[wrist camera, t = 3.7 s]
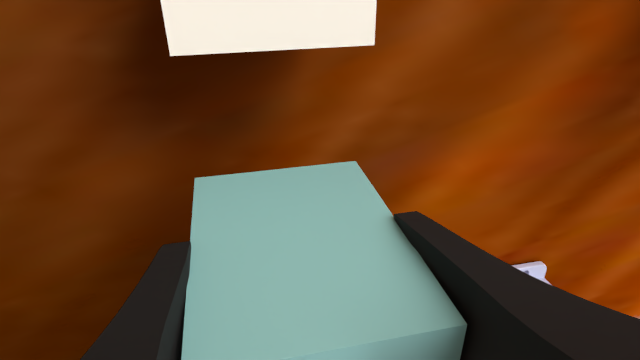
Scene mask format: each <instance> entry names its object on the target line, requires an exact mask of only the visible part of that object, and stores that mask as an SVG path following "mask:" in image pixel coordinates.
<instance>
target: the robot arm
mask: <svg viewBox="0 0 640 360" xmlns="http://www.w3.org/2000/svg"><path fill="white" fill-rule="evenodd" d="M394 220H395V222H396V223H397V224H398V226H399V227H400V229H401V230H402V232H403V233H404V235H405V236H406V238H407V239H408V241H409V242H410V243H411V245H412V246H413V247H414V248H415V249H416V251H417V252H418V253H419V254H420V256H421V257H422V259H423V260H424V262H425V263H426V265H427V266H428V268H429V269H430V271H431V272H432V273H433V275H434V276H435V278H436V279H437V281H438V282H439V284H440V285H441V287H442V288H443V290H444V291H445V293H446V294H447V295H448V297H449V298H450V300H451V301H452V303H453V304H454V306H455V307H456V309H457V310H458V312H459V313H460V314H461V316H462V317H463V319H464V320H465V322H466V323H467V328H466V333H465V338H464V342H463V347H462V352H461V357H460V360H640V319H638V318H635V317H632V316H629V315H626V314H623V313H620V312H618V311H615V310H612V309H609V308H607V307H604V306H601V305H598V304H596V303H593V302H590V301H588V300H585V299H583V298H580V297H578V296H575V295H573V294H570V293H568V292H566V291H564V290H561V289H559V288H557V287H555V286H552V285H551V284H550V283H549V282H548V281H547V280H546V279H545V278H544V276H545V273H546V270H547V267H546V265H545V264H544V263H543V262H541V261H537V262H531V263H525V264H519V265H513V266H511V265H509V264H507V263H505V262H503V261H501V260H500V259H498V258H496V257H494V256H492V255H491V254H489V253H487V252H485V251H484V250H482V249H480V248H478V247H477V246H475V245H473V244H472V243H470V242H468V241H466V240H465V239H463V238H461V237H460V236H458V235H456V234H455V233H453V232H451V231H450V230H448V229H447V228H445V227H443V226H442V225H440V224H438V223H437V222H435V221H433V220H432V219H430V218H428V217H426V216H425V215H423V214H421V213H419V212H417V211H414V212H407V213H399V214H394ZM190 258H191V242H190V241H188V242H180V243H173V244H165V245H163V246H162V247H161V248H160V249H159V251H158V252H157V254H156V256H155V257H154V259H153V261H152V262H151V264H150V266H149V267H148V269H147V270H146V272H145V274H144V275H143V277H142V278H141V280H140V281H139V283H138V284H137V286H136V287H135V289H134V290H133V292H132V293H131V294H130V296H129V297H128V299H127V300H126V302H125V303H124V304H123V306H122V307H121V309H120V310H119V312H118V313H117V314H116V316H115V317H114V318H113V319H112V321H111V322H110V323H109V325H108V326H107V327H106V328H105V330H104V331H103V332H102V334H101V335H100V336H99V337H98V339H97V340H96V341H95V342H94V344H93V345H92V346H91V347H90V349H89V350H88V351H87V352H86V353H85V354H84V356H83V357H82V358H81V359H80V360H181V356H182V343H183V329H184V316H185V303H186V289H187V283H188V279H189V273H190Z"/></svg>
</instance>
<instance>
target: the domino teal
mask: <svg viewBox="0 0 640 360" xmlns="http://www.w3.org/2000/svg"><path fill="white" fill-rule="evenodd" d="M190 242H191V258H190V273H189V279H188V283H187V289H186V303H185V316H184V329H183V343H182V356H181V360H460V357H461V352H462V347H463V342H464V338H465V333H466V328H467V323H466V322H465V320H464V319H463V317H462V316H461V314H460V313H459V312H458V310H457V309H456V307H455V306H454V304H453V303H452V301H451V300H450V298H449V297H448V295H447V294H446V293H445V291H444V290H443V288H442V287H441V285H440V284H439V282H438V281H437V279H436V278H435V276H434V275H433V273H432V272H431V271H430V269H429V268H428V266H427V265H426V263H425V262H424V260H423V259H422V257H421V256H420V254H419V253H418V252H417V251H416V249H415V248H414V247H413V246H412V245H411V243H410V242H409V241H408V239H407V238H406V236H405V235H404V233H403V232H402V230H401V229H400V227H399V226H398V224H397V223H396V222H395V220H394V216H393V215H392V214H391V212H390V211H389V209H388V208H387V206H386V205H385V203H384V202H383V200H382V199H381V197H380V196H379V195H378V193H377V192H376V190H375V189H374V187H373V186H372V184H371V183H370V181H369V180H368V178H367V177H366V175H365V174H364V173H363V171H362V170H361V168H360V167H359V165H358V164H357V162H356V161H351V162H342V163H332V164H323V165H314V166H304V167H295V168H285V169H276V170H266V171H257V172H248V173H238V174H229V175H219V176H210V177H200V178H195V182H194V196H193V209H192V222H191V236H190Z"/></svg>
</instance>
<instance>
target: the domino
mask: <svg viewBox="0 0 640 360" xmlns="http://www.w3.org/2000/svg"><path fill="white" fill-rule="evenodd" d="M161 6H162V12H163V17H164V23H165V29H166V35H167V41H168V47H169V52H170V56H182V55H200V54H218V53H237V52H255V51H274V50H292V49H310V48H329V47H347V46H365V45H374V41H375V21H376V0H161Z"/></svg>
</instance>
